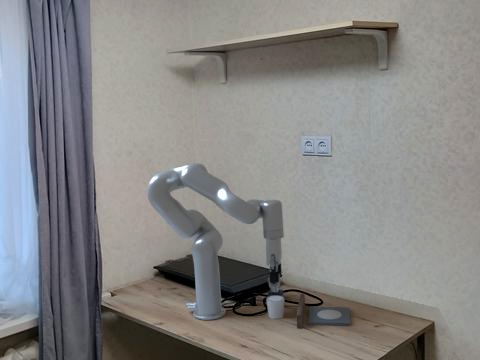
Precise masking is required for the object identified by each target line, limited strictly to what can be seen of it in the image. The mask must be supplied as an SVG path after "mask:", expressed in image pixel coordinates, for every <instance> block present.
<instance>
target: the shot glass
mask: <svg viewBox="0 0 480 360" xmlns="http://www.w3.org/2000/svg"><path fill="white" fill-rule="evenodd" d="M266 305H267V312H268V317H269V318H270V319H273V320H275V319H277V320H278V319H282V318H283V317H284V316H285V315H284V313H285V296H284V297H283V296H278V295H273V296H269V297H268V296H267V297H266Z"/></svg>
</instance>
